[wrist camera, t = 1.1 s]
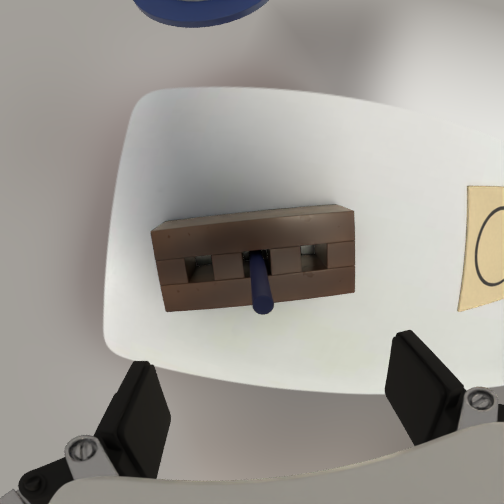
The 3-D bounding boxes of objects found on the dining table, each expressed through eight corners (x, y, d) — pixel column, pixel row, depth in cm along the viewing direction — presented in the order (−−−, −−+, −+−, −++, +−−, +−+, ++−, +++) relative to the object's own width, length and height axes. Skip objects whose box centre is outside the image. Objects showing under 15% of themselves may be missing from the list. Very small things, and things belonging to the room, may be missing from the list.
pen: (247, 243, 29) (251, 296, 17) (260, 241, 29) (273, 294, 17) (249, 255, 30) (253, 316, 17) (261, 253, 30) (274, 313, 17)
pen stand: (165, 221, 29) (150, 231, 24) (336, 204, 29) (354, 210, 24) (176, 291, 30) (165, 312, 26) (338, 274, 30) (355, 292, 26)
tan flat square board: (467, 186, 28) (469, 186, 28) (527, 187, 28) (529, 187, 28) (457, 310, 32) (459, 312, 32) (517, 292, 32) (519, 293, 32)
